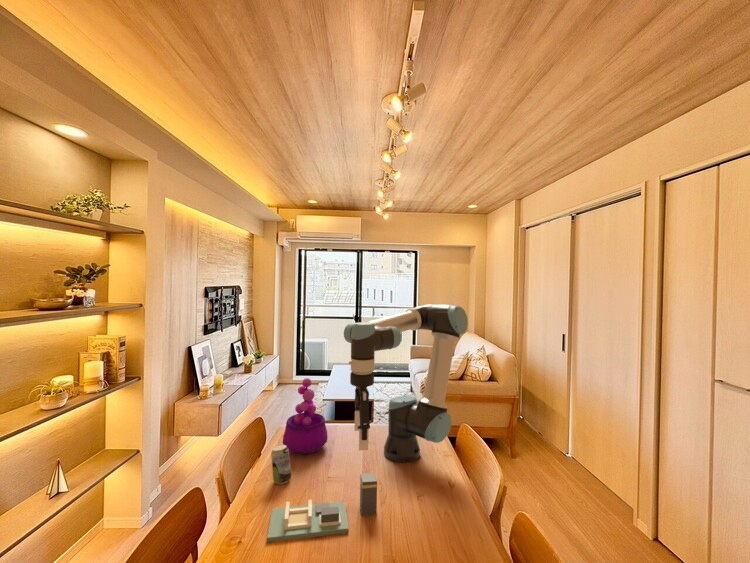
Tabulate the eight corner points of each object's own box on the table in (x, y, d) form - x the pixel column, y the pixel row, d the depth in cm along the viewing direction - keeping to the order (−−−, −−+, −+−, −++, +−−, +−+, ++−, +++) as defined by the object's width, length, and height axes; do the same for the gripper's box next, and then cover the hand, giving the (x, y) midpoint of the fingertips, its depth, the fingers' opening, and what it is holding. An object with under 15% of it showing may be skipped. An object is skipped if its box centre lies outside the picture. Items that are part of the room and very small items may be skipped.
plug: (373, 504, 105) (374, 472, 105) (376, 514, 100) (377, 481, 100) (359, 506, 104) (360, 474, 104) (361, 516, 99) (362, 482, 100)
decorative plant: (336, 449, 140) (337, 378, 141) (298, 465, 127) (300, 387, 128) (310, 435, 154) (312, 370, 155) (274, 448, 141) (276, 377, 141)
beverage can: (286, 487, 113) (287, 452, 113) (266, 484, 114) (267, 450, 114) (294, 477, 119) (295, 444, 119) (275, 475, 120) (276, 441, 121)
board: (344, 505, 104) (344, 491, 104) (348, 532, 92) (348, 517, 92) (272, 512, 100) (272, 498, 100) (266, 542, 88) (267, 526, 88)
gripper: (347, 363, 116) (346, 423, 115) (354, 382, 91) (352, 460, 91) (368, 362, 117) (367, 423, 117) (380, 382, 93) (379, 458, 92)
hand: (360, 439), depth 104 cm, fingers open, 13 cm apart
